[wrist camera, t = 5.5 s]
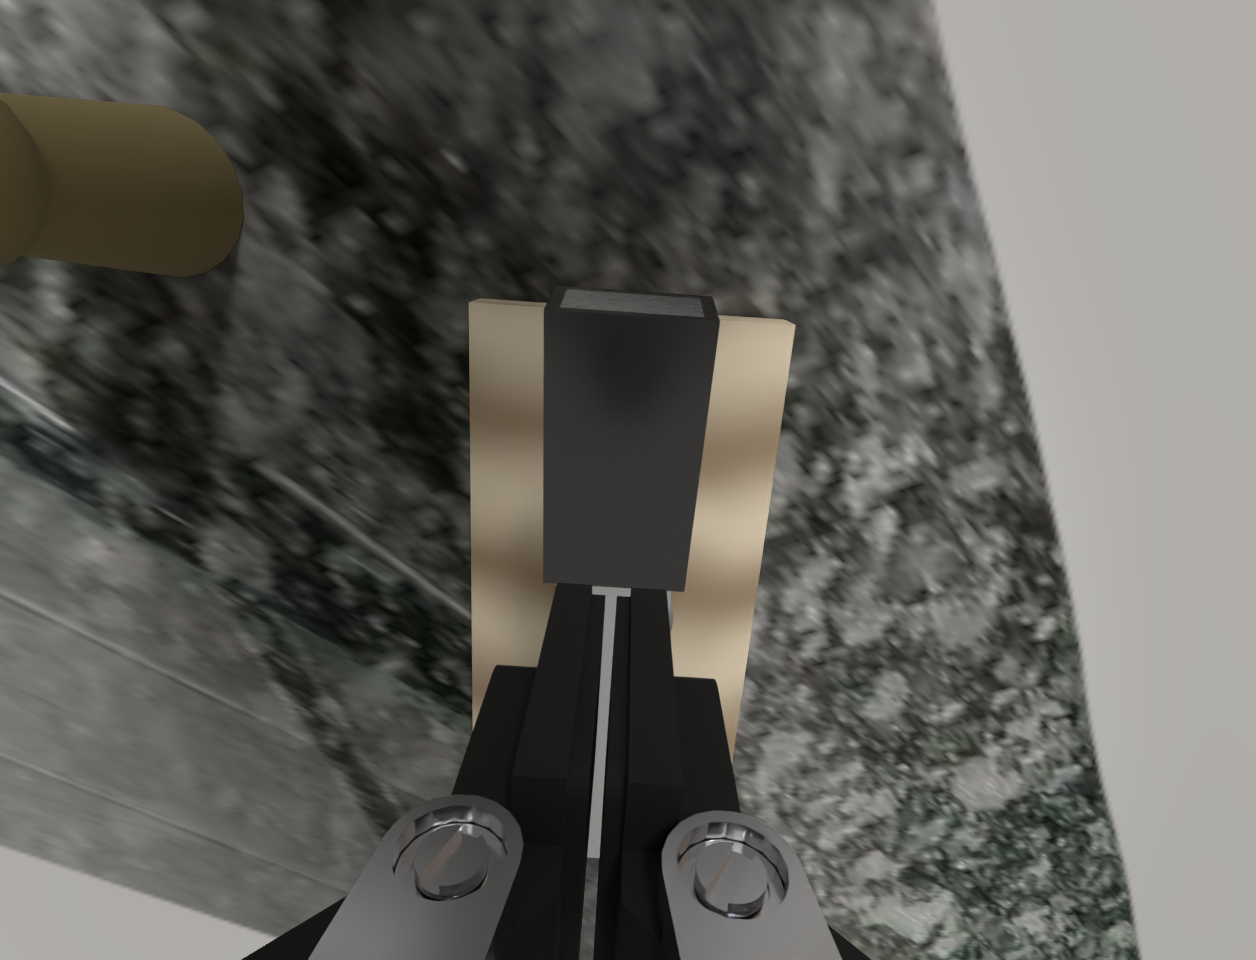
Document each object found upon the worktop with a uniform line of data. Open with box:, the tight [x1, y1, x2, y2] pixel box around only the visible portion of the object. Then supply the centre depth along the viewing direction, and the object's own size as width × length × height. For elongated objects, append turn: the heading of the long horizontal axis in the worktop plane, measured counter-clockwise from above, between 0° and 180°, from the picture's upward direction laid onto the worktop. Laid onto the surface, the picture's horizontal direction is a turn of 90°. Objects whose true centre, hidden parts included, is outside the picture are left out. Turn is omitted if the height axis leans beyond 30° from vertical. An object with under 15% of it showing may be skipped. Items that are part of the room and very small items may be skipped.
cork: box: [0, 93, 244, 277], centre depth 20 cm, size 6×6×11 cm
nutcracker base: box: [469, 298, 795, 763], centre depth 25 cm, size 21×12×12 cm, turn 176°
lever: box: [543, 286, 720, 858], centre depth 20 cm, size 19×4×4 cm, turn 176°
